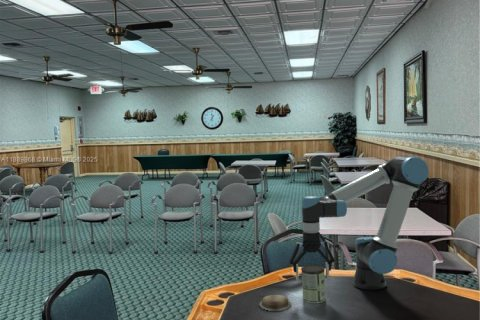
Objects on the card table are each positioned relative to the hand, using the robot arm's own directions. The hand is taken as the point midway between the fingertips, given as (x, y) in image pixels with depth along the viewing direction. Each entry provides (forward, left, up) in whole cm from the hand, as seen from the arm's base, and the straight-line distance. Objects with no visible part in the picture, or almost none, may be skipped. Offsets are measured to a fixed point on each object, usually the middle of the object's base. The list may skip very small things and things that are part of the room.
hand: (312, 278), depth 195 cm
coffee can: (0, 0, -10) cm, 10 cm away
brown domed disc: (+18, +4, -9) cm, 20 cm away
